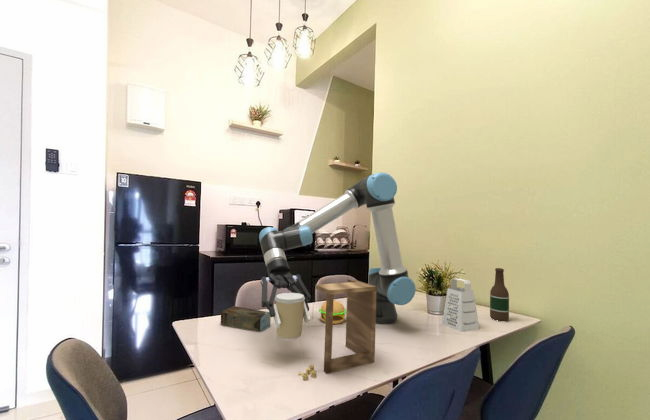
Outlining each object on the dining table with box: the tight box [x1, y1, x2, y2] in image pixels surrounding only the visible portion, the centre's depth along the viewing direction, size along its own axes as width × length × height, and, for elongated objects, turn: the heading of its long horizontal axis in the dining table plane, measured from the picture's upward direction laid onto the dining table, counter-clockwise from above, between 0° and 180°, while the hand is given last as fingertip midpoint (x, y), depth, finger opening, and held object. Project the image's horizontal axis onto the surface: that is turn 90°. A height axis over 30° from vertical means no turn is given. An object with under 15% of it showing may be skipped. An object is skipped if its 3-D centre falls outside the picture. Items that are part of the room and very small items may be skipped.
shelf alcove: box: [315, 278, 377, 374], centre depth 95 cm, size 17×14×23 cm
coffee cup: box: [274, 292, 305, 340], centre depth 94 cm, size 9×9×12 cm
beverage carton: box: [220, 305, 272, 333], centre depth 121 cm, size 8×19×7 cm, turn 69°
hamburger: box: [318, 300, 347, 325], centre depth 131 cm, size 12×12×9 cm
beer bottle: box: [489, 267, 510, 322], centre depth 143 cm, size 8×8×24 cm
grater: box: [441, 278, 480, 332], centre depth 130 cm, size 10×10×20 cm
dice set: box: [297, 364, 318, 382], centre depth 83 cm, size 5×5×2 cm
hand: (293, 323), depth 91 cm, fingers closed on coffee cup, 9 cm apart
